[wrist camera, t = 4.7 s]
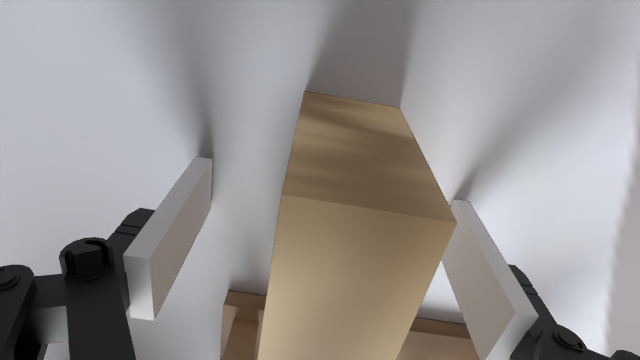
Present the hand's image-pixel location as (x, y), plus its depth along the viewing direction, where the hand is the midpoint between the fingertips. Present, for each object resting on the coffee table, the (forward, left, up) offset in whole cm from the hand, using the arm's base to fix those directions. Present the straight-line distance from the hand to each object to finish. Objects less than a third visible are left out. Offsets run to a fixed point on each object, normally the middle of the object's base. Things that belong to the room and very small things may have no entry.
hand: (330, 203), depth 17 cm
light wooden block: (0, 0, 0) cm, 0 cm away
